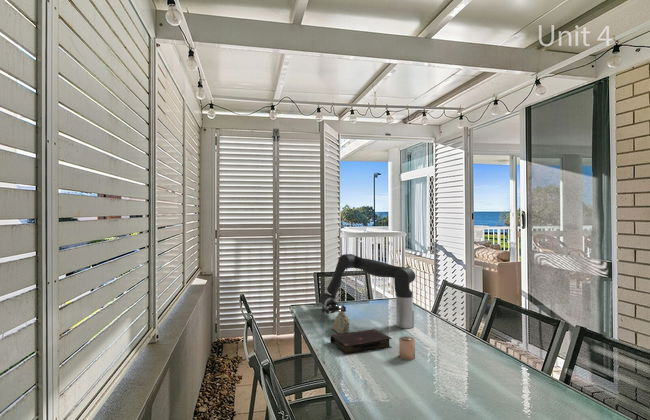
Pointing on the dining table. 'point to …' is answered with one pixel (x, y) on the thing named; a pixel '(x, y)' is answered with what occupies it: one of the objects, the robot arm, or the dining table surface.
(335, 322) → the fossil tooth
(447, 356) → the dining table surface
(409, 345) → the peach glossy cylinder
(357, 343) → the diary
